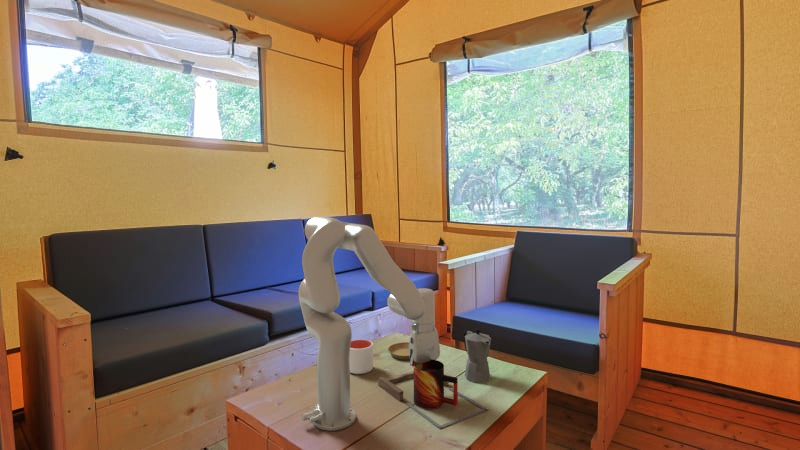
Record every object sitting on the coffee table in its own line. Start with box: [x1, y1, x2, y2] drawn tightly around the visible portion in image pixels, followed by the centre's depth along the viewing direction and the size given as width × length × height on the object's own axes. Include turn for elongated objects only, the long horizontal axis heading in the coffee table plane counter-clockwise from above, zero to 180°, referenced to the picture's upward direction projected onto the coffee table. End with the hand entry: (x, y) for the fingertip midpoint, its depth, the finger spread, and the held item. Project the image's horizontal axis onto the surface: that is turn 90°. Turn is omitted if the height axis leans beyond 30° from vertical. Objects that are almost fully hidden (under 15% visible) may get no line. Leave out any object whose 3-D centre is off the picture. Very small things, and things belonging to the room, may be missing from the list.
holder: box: [377, 370, 449, 402], centre depth 148 cm, size 20×14×3 cm
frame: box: [405, 387, 489, 430], centre depth 133 cm, size 19×17×1 cm
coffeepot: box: [462, 328, 492, 384], centre depth 154 cm, size 15×9×18 cm, turn 26°
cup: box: [350, 339, 374, 375], centre depth 161 cm, size 10×10×10 cm
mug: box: [413, 359, 459, 410], centre depth 136 cm, size 10×14×12 cm
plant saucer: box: [387, 342, 410, 360], centre depth 177 cm, size 15×15×3 cm
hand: (424, 379), depth 143 cm, fingers closed
